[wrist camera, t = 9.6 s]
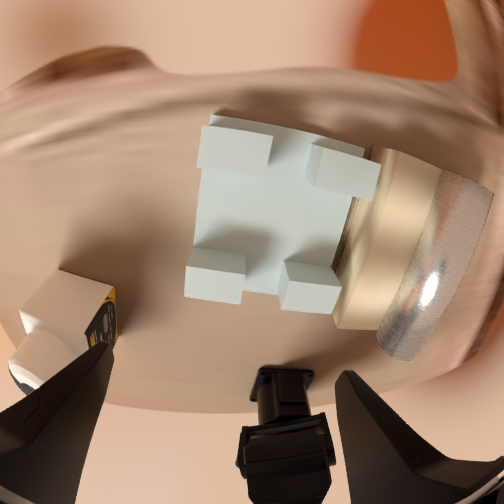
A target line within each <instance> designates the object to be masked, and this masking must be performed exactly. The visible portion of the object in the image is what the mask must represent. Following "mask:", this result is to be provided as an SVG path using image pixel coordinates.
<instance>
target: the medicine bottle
mask: <svg viewBox="0 0 504 504" xmlns="http://www.w3.org/2000/svg"><path fill="white" fill-rule="evenodd" d="M20 314H21V318H22V321H23V324H24V327H25V330H26V333H27V335H26V337H25V338H24V339H23V341H22V342H21V344H20V345H19V347H18V348H17V349H16V351H15V352H14V354H13V355H12V357H11V358H10V360H9V362H8V366H9V372H10V374H11V376H12V378H13V379H14V381H15V383H16V384H17V386H18V387H19V388H20V389H21V390H22V391H23V392H24V393H25V394H26V395H29V394H30V393H31V392H33V391H34V390H35V389H37V388H39V386H41V385H42V384H43V383H45V382H46V381H47V380H48V379H50V378H51V377H52V376H54V375H55V374H56V373H58V372H59V371H60V370H62V369H63V368H64V367H66V366H67V365H68V364H70V363H71V362H72V361H74V360H75V359H76V358H77V357H79V356H80V355H81V354H83V353H84V352H85V351H87V350H88V349H90V348H91V347H92V346H94V345H95V344H96V343H98V342H99V341H105V342H109V343H110V344H111V347H112V350H113V348H114V345H115V343H116V341H117V339H118V334H117V321H116V303H115V288H114V287H113V286H111V285H108V284H104V283H101V282H97V281H94V280H90V279H87V278H84V277H81V276H77V275H74V274H71V273H68V272H65V271H62V270H58V269H57V270H55V271H54V272H53V273H52V274H51V275H50V276H49V277H48V279H47V280H46V281H45V282H44V283H43V284H42V285H41V286H40V287H39V288H38V289H37V290H36V291H35V292H34V293H33V295H32V296H31V297H30V298H29V299H28V300H27V301H26V302H25V304H24V305H23V306H22V307H21V308H20Z"/></svg>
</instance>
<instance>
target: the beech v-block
mask: <svg viewBox="0 0 504 504" xmlns="http://www.w3.org/2000/svg"><path fill="white" fill-rule="evenodd" d="M370 161H373V162H376V163H378V164H381V168H380V172H379V176H378V180H377V184H376V187H375V191H374V194H373V198H372V201H368V200H364V199H360V198H359V202H358V205H357V209H356V212H355V216H354V219H353V222H352V225H351V229H350V232H349V235H348V238H347V241H346V244H345V247H344V250H343V253H342V256H341V259H340V262H339V265H338V268H337V270H336V273H335V275H336V277H337V279H338V281H339V282H340V284H341V286H342V289H341V291H340V294H339V296H338V299H337V301H336V303H335V306H334V308H333V311H332V313H331V314H332V316H333V318H334V321H335V323H336V326H337V328H338V329H356V330H378V329H379V327H380V325H381V323H382V322H383V320H384V318H385V316H386V314H387V312H388V310H389V308H390V306H391V304H392V302H393V300H394V298H395V296H396V294H397V292H398V290H399V287H400V285H401V283H402V281H403V279H404V276H405V274H406V272H407V270H408V267H409V265H410V263H411V260H412V258H413V255H414V253H415V250H416V248H417V245H418V243H419V240H420V237H421V235H422V232H423V229H424V226H425V223H426V221H427V218H428V215H429V212H430V209H431V205H432V202H433V199H434V196H435V192H436V189H437V185H438V182H439V178H440V174H441V170H442V169H440V168H438V167H435V166H433V165H431V164H429V163H427V162H424V161H422V160H420V159H418V158H415V157H413V156H410V155H408V154H406V153H403V152H401V151H397V150H393V149H389V148H384V147H380V146H376V145H373V148H372V153H371V157H370Z"/></svg>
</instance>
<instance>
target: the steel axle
mask: <svg viewBox="0 0 504 504" xmlns="http://www.w3.org/2000/svg"><path fill="white" fill-rule="evenodd" d="M493 197H494V193H493V192H491V191H490V190H488V189H486V188H485V187H483V186H481V185H479V184H477V183H475V182H473V181H471V180H469V179H467V178H465V177H462V176H460V175H458V174H455V173H453V172H450V171H447V170H444V169H442V170H441V174H440V178H439V182H438V185H437V189H436V192H435V196H434V199H433V202H432V205H431V209H430V212H429V215H428V218H427V221H426V223H425V226H424V229H423V232H422V235H421V237H420V240H419V243H418V245H417V248H416V250H415V253H414V255H413V258H412V260H411V263H410V265H409V267H408V270H407V272H406V274H405V276H404V279H403V281H402V283H401V285H400V287H399V290H398V292H397V294H396V296H395V298H394V300H393V302H392V304H391V306H390V308H389V310H388V312H387V314H386V316H385V318H384V320H383V322H382V323H381V325H380V327H379V329H378V331H377V333H376V338H377V341H378V343H379V345H380V346H381V348H382V349H383V350H384V351H385V352H386V353H388V354H389V355H391V356H392V357H394V358H397V359H400V360H404V361H410V360H413V359H415V358H416V357H417V356H418V355H419V353H420V352H421V350H422V349H423V347H424V346H425V344H426V343H427V341H428V340H429V338H430V337H431V335H432V333H433V332H434V330H435V328H436V327H437V325H438V324H439V322H440V320H441V318H442V317H443V315H444V313H445V311H446V310H447V308H448V306H449V304H450V302H451V301H452V299H453V297H454V295H455V293H456V291H457V289H458V287H459V285H460V283H461V281H462V279H463V277H464V274H465V272H466V270H467V268H468V266H469V263H470V261H471V259H472V256H473V254H474V252H475V249H476V247H477V244H478V242H479V239H480V236H481V234H482V231H483V228H484V225H485V222H486V219H487V216H488V213H489V210H490V207H491V204H492V200H493Z"/></svg>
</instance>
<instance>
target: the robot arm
mask: <svg viewBox="0 0 504 504" xmlns="http://www.w3.org/2000/svg"><path fill="white" fill-rule="evenodd" d="M113 363H114V355H113V351H112V347H111V344H110V343H109V342H105V341H99V342H98V343H96V344H95V345H94V346H92V347H91V348H90V349H88V350H87V351H85V352H84V353H83V354H81V355H80V356H79V357H77V358H76V359H75V360H74V361H72V362H71V363H70V364H68V365H67V366H66V367H64V368H63V369H62V370H60V371H59V372H58V373H56V374H55V375H54V376H52V377H51V378H50V379H48V380H47V381H46V382H45V383H43V384H42V385H41V386H39V388H37V389H35V390H34V391H33V392H31V393H30V394H29V395H27V396H26V397H25V398H23V399H22V400H20V401H18V402H17V403H15V404H14V405H12V406H10V407H9V408H7V409H6V410H4V411H2V412H0V504H75V500H76V496H77V491H78V487H79V483H80V478H81V474H82V470H83V466H84V463H85V459H86V456H87V452H88V449H89V445H90V441H91V438H92V435H93V432H94V429H95V426H96V423H97V419H98V416H99V413H100V410H101V408H102V405H103V402H104V399H105V396H106V392H107V388H108V384H109V379H110V375H111V371H112V367H113ZM314 376H315V373H314V371H312V370H286V369H269V368H261V369H259V370H258V373H257V376H256V379H255V382H254V385H253V388H252V391H251V394H250V401H252V402H258V420H259V425H257V426H249V427H248V426H243V427H242V432H241V434H240V440H239V448H238V455H237V459H236V466H237V467H238V468H239V469H240V472H241V475H242V477H243V478H244V479H247V485H248V495H249V498H250V500H251V501H252V502H253V504H322V501H323V500H324V498H325V496H326V494H327V491H328V490H329V488H330V485H331V483H332V480H331V474H330V469H329V467H330V466H334V465H336V458H335V451H334V446H333V442H332V438H331V434H330V430H329V427H328V423H327V419H326V415H325V412H322V413H320V414H317V415H313V416H312V415H311V410H310V405H309V401H308V396H307V391H306V390H307V389H308V387H309V385H310V383H311V382H312V380H313V378H314ZM335 396H336V409H337V420H338V425H339V431H340V436H341V442H342V447H343V453H344V458H345V465H346V472H347V478H348V484H349V491H350V498H351V504H504V475H503V476H502V477H500V478H498V474H499V473H500V472H502V471H503V470H504V456H500V457H499V458H498V459H496V460H495V461H490V462H482V461H466V460H456V459H451V458H449V457H447V456H445V455H444V454H442V453H441V452H440V451H438V450H437V449H436V448H434V447H433V446H432V445H431V444H429V443H428V442H427V441H426V440H424V439H423V438H422V437H421V436H420V435H418V434H417V433H416V432H415V431H414V430H413V429H412V428H411V427H410V426H409V425H408V424H406V422H405V421H404V420H403V419H402V418H401V417H399V415H398V414H397V413H396V412H395V411H393V409H392V408H391V407H390V406H389V405H388V404H387V403H386V402H384V400H383V399H382V398H381V397H380V396H379V395H378V394H377V393H376V392H375V391H374V390H373V389H372V388H371V387H370V386H369V385H368V384H367V383H366V382H365V381H364V380H363V379H362V378H361V377H360V376H359V375H358V374H357V373H356V372H354V371H353V370H344V371H342V373H341V374H340V376H339V378H338V379H337V381H336V383H335Z"/></svg>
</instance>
